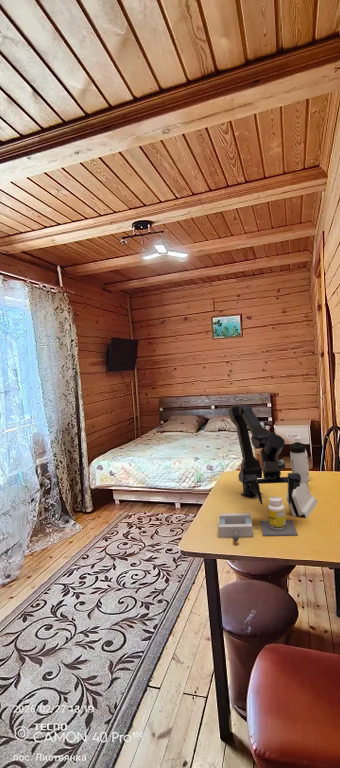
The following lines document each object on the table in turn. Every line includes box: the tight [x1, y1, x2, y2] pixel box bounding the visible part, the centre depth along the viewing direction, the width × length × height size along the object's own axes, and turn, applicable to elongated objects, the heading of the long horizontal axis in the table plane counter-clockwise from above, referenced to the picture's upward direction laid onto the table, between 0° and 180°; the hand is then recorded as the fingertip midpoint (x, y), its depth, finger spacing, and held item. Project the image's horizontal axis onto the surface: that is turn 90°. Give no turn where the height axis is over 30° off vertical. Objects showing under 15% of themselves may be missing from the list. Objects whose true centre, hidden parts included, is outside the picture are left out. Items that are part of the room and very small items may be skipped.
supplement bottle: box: [267, 496, 287, 530], centre depth 127 cm, size 5×5×10 cm
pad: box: [259, 519, 299, 537], centre depth 127 cm, size 11×11×1 cm
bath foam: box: [294, 436, 310, 481], centre depth 173 cm, size 7×7×20 cm
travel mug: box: [289, 441, 309, 488], centre depth 161 cm, size 6×7×20 cm
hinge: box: [286, 483, 318, 519], centre depth 141 cm, size 17×5×10 cm, turn 146°
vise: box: [217, 512, 254, 542], centre depth 126 cm, size 16×11×4 cm, turn 171°
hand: (275, 503), depth 127 cm, fingers open, 9 cm apart
